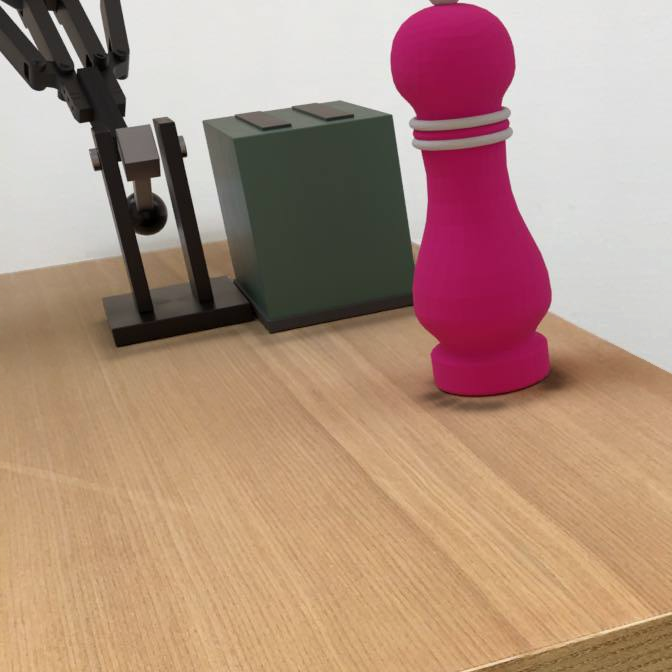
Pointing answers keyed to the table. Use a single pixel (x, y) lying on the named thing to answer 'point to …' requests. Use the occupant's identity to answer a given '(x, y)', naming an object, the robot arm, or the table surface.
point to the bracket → (201, 291)
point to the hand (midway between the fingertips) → (120, 148)
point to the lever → (142, 178)
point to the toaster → (313, 211)
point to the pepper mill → (470, 204)
